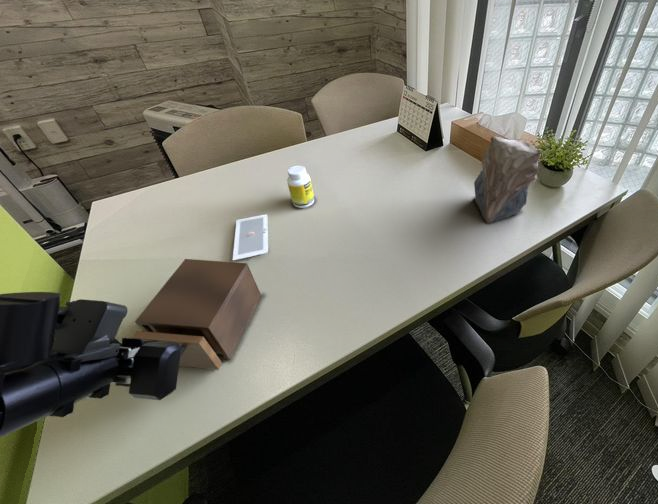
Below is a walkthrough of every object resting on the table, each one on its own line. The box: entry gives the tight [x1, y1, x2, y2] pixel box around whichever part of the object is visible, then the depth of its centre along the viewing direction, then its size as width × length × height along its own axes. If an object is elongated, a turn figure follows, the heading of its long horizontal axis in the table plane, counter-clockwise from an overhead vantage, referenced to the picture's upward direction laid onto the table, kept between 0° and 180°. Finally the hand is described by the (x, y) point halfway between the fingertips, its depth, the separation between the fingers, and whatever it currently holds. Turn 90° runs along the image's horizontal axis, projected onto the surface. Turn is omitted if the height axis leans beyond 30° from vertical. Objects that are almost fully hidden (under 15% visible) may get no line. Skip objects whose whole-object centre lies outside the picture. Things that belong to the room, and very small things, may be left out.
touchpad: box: [232, 213, 269, 261], centre depth 82 cm, size 8×15×2 cm, turn 18°
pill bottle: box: [286, 164, 315, 209], centre depth 91 cm, size 6×6×11 cm
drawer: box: [131, 325, 223, 370], centre depth 57 cm, size 17×11×9 cm, turn 175°
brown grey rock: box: [473, 135, 543, 224], centre depth 86 cm, size 13×13×20 cm
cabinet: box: [134, 258, 263, 361], centre depth 61 cm, size 14×13×11 cm
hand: (156, 344), depth 49 cm, fingers closed
